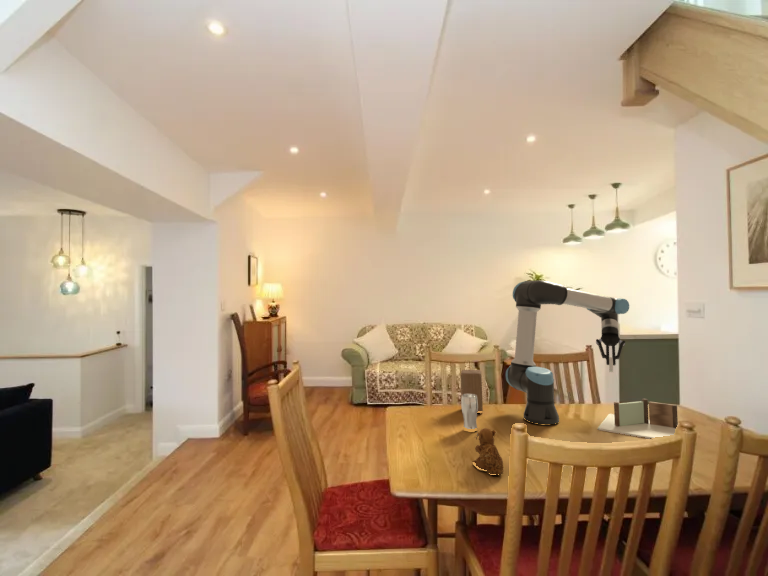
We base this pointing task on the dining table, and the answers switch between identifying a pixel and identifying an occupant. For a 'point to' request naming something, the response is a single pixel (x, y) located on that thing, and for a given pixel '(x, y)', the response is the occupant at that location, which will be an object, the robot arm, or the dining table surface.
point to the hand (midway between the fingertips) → (611, 370)
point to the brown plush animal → (488, 453)
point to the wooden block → (472, 385)
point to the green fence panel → (628, 413)
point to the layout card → (636, 428)
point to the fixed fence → (660, 414)
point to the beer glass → (469, 410)
